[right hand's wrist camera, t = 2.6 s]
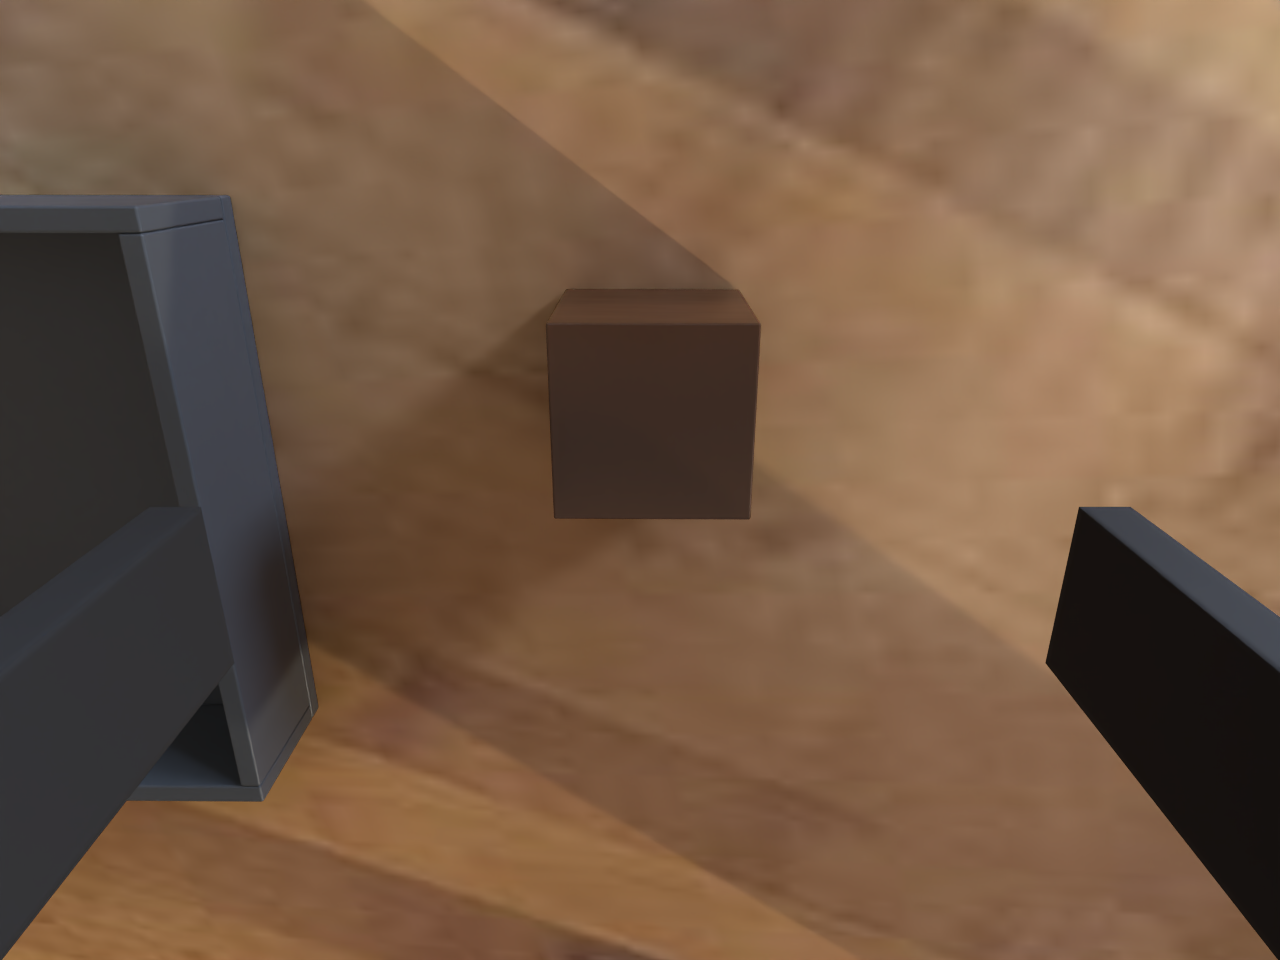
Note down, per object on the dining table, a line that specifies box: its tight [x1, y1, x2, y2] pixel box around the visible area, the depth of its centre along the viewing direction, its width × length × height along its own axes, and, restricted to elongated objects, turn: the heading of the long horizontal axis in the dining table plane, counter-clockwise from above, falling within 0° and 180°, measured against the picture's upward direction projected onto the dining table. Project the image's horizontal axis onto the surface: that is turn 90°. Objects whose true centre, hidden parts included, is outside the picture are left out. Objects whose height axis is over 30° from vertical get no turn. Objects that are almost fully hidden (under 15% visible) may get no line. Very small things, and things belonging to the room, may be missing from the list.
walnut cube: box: [546, 289, 761, 519], centre depth 23 cm, size 5×5×5 cm
